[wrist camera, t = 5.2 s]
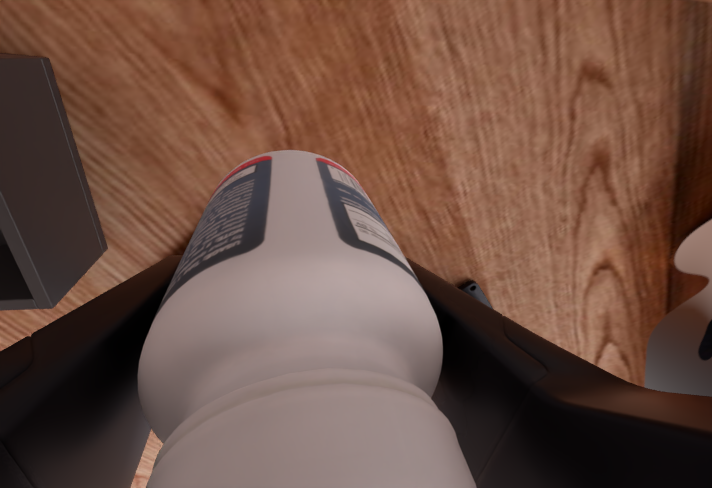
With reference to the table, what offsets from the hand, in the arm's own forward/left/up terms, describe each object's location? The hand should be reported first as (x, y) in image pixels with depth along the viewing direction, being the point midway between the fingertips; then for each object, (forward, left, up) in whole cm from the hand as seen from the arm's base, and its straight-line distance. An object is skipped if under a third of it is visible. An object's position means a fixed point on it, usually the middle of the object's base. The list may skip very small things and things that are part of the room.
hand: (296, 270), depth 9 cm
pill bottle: (0, 0, -3) cm, 3 cm away
